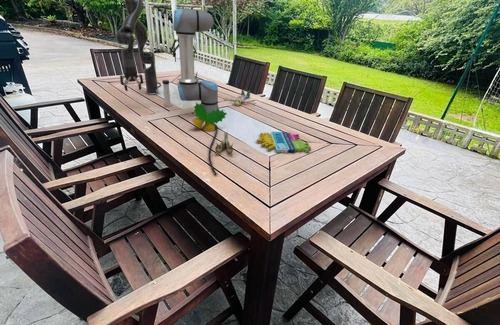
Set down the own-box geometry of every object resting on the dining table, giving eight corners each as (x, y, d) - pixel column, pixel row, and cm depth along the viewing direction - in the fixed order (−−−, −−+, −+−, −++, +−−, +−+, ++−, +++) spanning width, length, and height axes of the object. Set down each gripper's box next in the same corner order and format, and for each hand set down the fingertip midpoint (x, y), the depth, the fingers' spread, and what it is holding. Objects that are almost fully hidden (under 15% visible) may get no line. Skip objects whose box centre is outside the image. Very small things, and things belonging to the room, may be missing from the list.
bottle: (171, 104, 201) (169, 80, 192) (170, 106, 198) (168, 81, 189) (165, 104, 201) (163, 80, 192) (164, 106, 197) (162, 81, 188)
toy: (261, 91, 228) (254, 99, 202) (261, 99, 231) (253, 108, 205) (231, 87, 233) (220, 95, 207) (230, 95, 236) (219, 104, 210)
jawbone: (234, 135, 144) (233, 125, 135) (233, 160, 138) (232, 151, 129) (217, 135, 144) (216, 125, 135) (216, 160, 138) (214, 150, 129)
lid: (169, 82, 194) (169, 80, 193) (168, 84, 190) (168, 81, 189) (163, 82, 193) (162, 79, 192) (162, 84, 189) (161, 81, 188)
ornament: (218, 133, 171) (224, 110, 169) (221, 134, 163) (227, 111, 161) (186, 125, 162) (192, 101, 160) (189, 126, 155) (195, 101, 153)
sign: (313, 150, 142) (258, 149, 139) (312, 153, 143) (258, 152, 140) (301, 132, 164) (254, 130, 161) (301, 134, 165) (254, 133, 162)
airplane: (171, 82, 265) (170, 71, 260) (201, 80, 279) (201, 70, 274) (181, 92, 237) (180, 81, 232) (214, 89, 250) (214, 79, 245)
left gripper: (139, 64, 179) (142, 88, 187) (116, 65, 172) (121, 90, 180) (142, 66, 174) (145, 90, 182) (119, 67, 166) (123, 92, 174)
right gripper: (198, 33, 207) (199, 61, 218) (165, 31, 201) (168, 60, 211) (199, 33, 201) (200, 62, 211) (165, 32, 194) (168, 62, 205)
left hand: (133, 90), depth 181 cm, fingers open, 8 cm apart
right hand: (184, 61), depth 211 cm, fingers open, 13 cm apart
